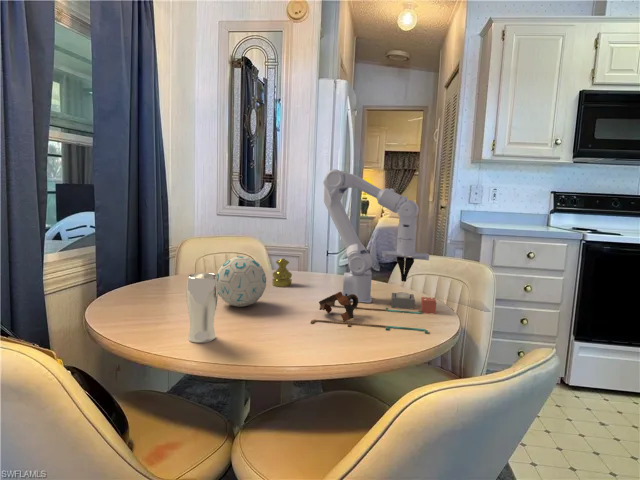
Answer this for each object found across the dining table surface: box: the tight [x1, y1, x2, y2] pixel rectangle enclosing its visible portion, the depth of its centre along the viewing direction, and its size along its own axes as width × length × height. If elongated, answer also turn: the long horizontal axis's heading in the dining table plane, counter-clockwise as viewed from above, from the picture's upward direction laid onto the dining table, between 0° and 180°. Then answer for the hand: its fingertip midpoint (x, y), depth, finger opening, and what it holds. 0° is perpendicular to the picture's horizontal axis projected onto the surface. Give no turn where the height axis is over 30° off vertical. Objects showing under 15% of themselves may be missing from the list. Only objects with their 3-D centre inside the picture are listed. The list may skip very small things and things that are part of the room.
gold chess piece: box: [271, 258, 293, 288], centre depth 153 cm, size 7×7×10 cm
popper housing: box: [390, 292, 416, 310], centre depth 131 cm, size 7×7×3 cm
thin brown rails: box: [310, 305, 429, 335], centre depth 117 cm, size 31×21×1 cm
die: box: [420, 296, 437, 315], centre depth 125 cm, size 4×4×4 cm
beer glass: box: [185, 272, 219, 344], centre depth 95 cm, size 7×7×15 cm
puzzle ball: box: [216, 255, 267, 308], centre depth 123 cm, size 15×15×15 cm
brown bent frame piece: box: [318, 291, 359, 322], centre depth 117 cm, size 12×10×8 cm
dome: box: [395, 291, 411, 298], centre depth 131 cm, size 4×4×3 cm
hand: (403, 280), depth 131 cm, fingers closed
